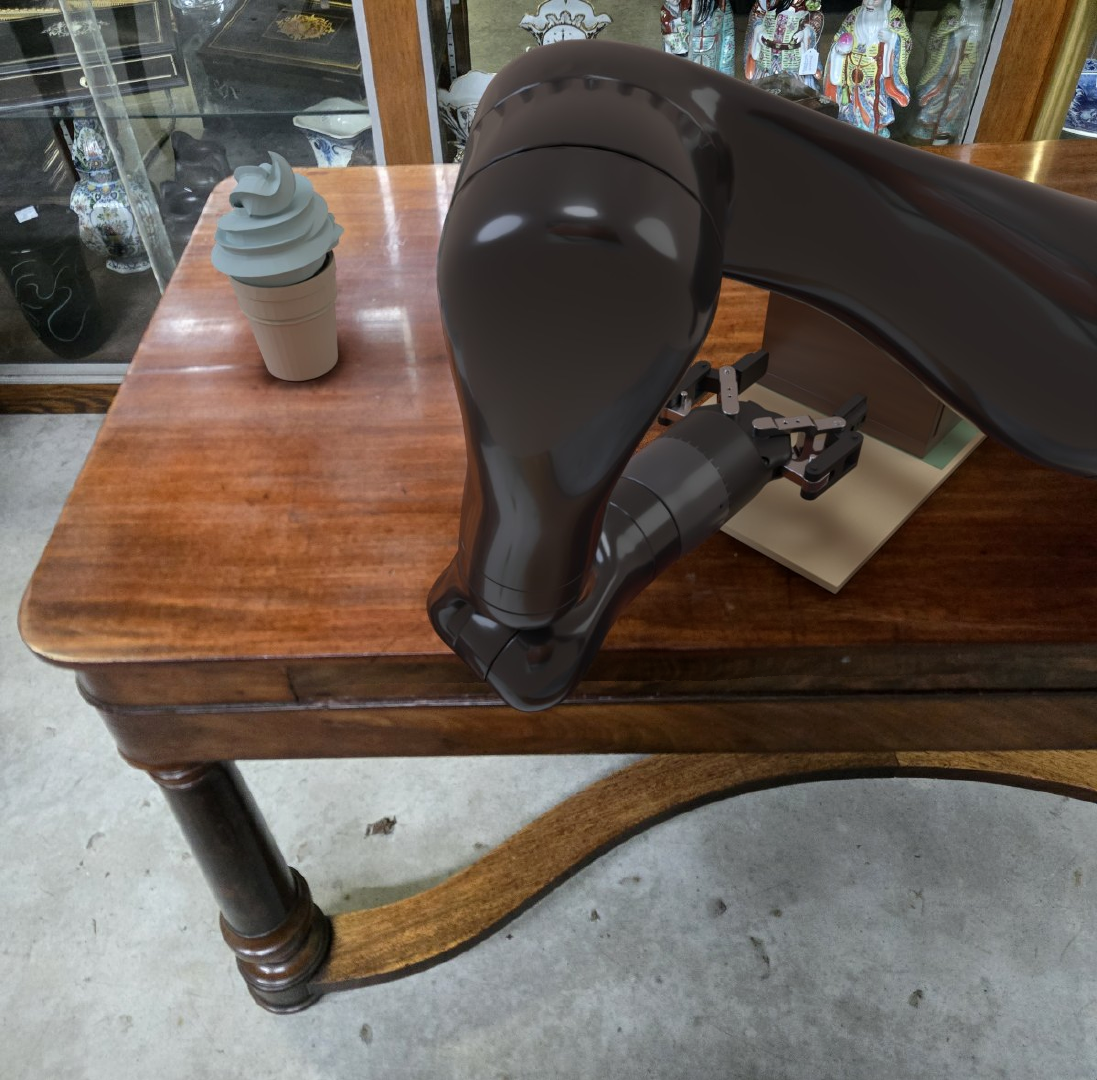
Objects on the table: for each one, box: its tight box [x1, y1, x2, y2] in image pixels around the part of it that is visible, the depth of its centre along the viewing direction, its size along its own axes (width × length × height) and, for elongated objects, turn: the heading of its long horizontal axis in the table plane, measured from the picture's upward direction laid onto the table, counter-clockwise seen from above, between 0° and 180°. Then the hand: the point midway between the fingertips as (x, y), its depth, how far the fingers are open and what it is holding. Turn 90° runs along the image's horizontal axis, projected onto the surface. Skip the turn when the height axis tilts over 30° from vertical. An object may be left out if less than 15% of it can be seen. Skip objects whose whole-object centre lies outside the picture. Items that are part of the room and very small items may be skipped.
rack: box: [757, 291, 963, 459], centre depth 86 cm, size 10×16×12 cm, turn 48°
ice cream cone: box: [210, 150, 345, 382], centre depth 89 cm, size 10×11×20 cm
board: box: [700, 382, 988, 595], centre depth 86 cm, size 28×20×1 cm
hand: (811, 381), depth 79 cm, fingers open, 8 cm apart
